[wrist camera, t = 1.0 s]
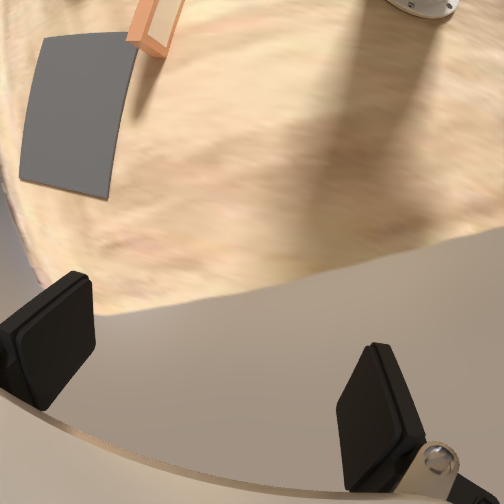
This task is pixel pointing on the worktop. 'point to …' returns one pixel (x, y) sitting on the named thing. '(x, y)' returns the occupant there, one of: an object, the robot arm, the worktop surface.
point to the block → (154, 26)
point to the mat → (76, 111)
